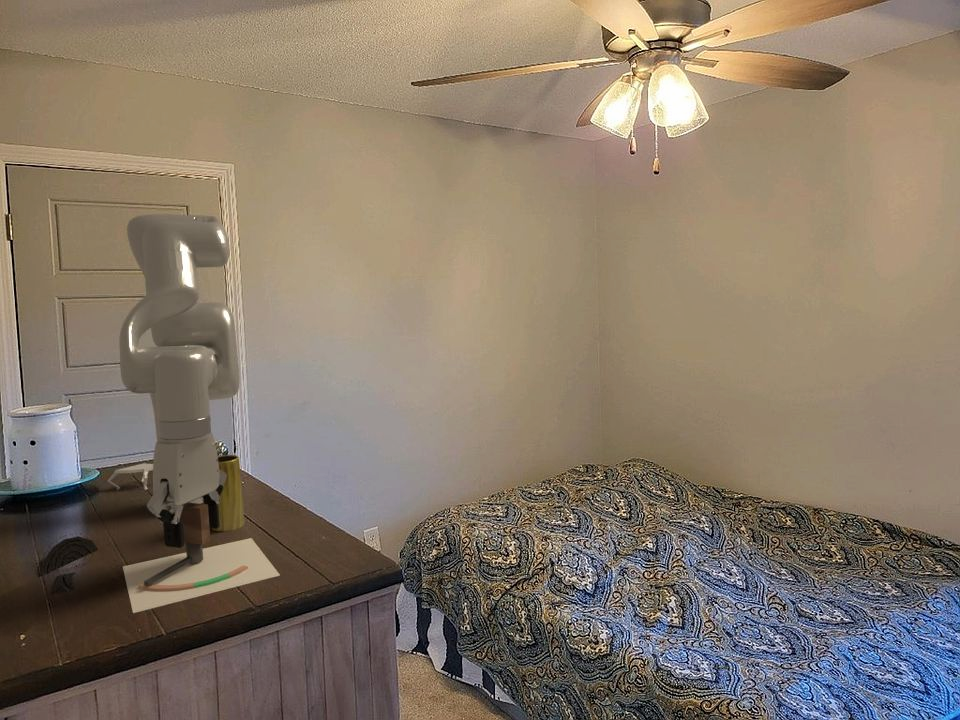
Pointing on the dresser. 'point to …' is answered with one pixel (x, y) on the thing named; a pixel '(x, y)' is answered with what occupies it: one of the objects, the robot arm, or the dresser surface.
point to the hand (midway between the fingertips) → (193, 535)
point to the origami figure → (133, 469)
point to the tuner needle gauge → (190, 537)
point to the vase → (230, 495)
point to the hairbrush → (66, 560)
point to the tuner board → (197, 574)
